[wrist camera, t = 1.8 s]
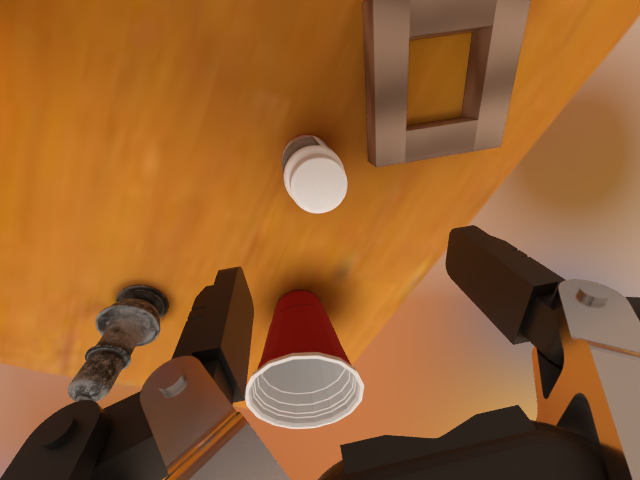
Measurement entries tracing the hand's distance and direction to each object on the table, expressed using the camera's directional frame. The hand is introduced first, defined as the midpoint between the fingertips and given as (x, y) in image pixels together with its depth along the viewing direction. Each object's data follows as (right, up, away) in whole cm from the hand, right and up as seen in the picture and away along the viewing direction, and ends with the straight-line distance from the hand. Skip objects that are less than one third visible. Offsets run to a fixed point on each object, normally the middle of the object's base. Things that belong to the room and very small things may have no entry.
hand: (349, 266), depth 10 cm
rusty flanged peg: (-21, -6, +21) cm, 30 cm away
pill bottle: (-2, +9, +15) cm, 18 cm away
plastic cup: (-4, -7, +24) cm, 26 cm away
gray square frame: (+9, +15, +14) cm, 22 cm away
